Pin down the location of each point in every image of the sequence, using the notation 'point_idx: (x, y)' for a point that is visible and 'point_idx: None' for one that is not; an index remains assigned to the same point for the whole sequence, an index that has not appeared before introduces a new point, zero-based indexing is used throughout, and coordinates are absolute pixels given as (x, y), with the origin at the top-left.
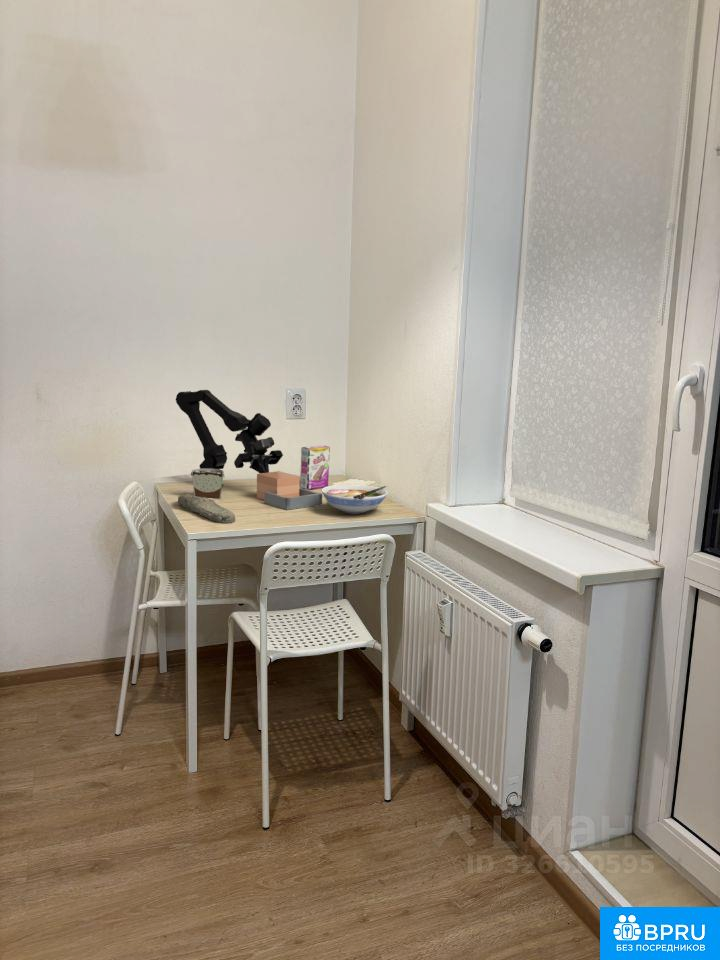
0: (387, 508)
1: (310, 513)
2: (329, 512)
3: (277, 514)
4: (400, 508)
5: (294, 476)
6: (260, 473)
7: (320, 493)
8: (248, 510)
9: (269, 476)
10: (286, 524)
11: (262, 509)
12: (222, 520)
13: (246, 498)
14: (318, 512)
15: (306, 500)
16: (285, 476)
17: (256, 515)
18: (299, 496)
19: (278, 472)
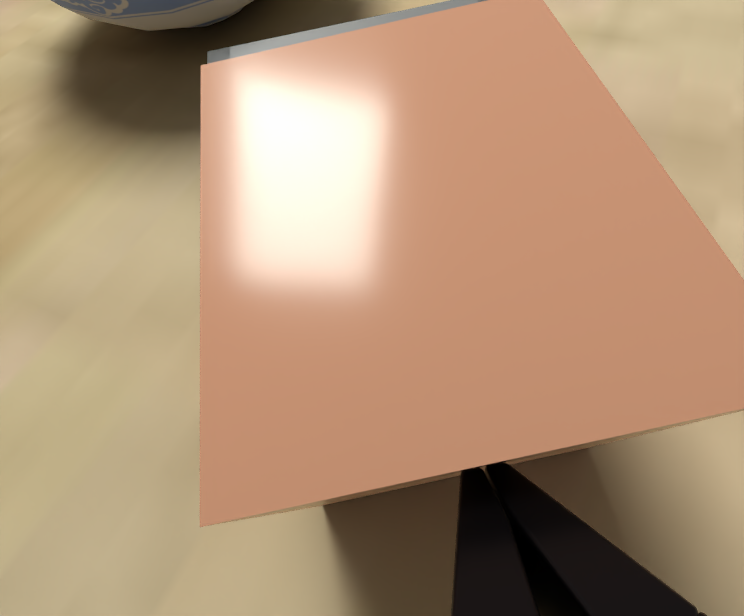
0: (46, 17)
1: (399, 6)
2: (308, 7)
3: (568, 16)
4: (8, 9)
5: (266, 61)
6: (727, 395)
7: (210, 60)
8: (729, 105)
9: (598, 113)
10: None
11: (627, 107)
12: None
13: (702, 481)
14: (354, 13)
15: None
16: (371, 76)
17: (691, 17)
18: (391, 20)
19: (297, 380)
